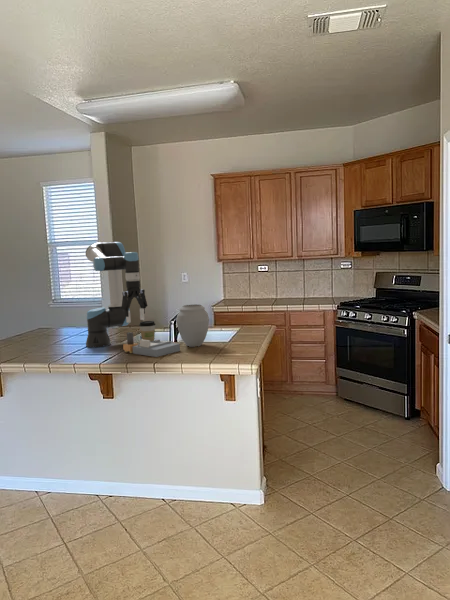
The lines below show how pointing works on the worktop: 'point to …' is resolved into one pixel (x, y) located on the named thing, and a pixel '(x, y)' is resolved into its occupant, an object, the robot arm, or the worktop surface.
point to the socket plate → (157, 348)
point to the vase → (193, 324)
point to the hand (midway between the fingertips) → (135, 321)
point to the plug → (129, 343)
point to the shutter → (146, 343)
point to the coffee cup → (147, 330)
